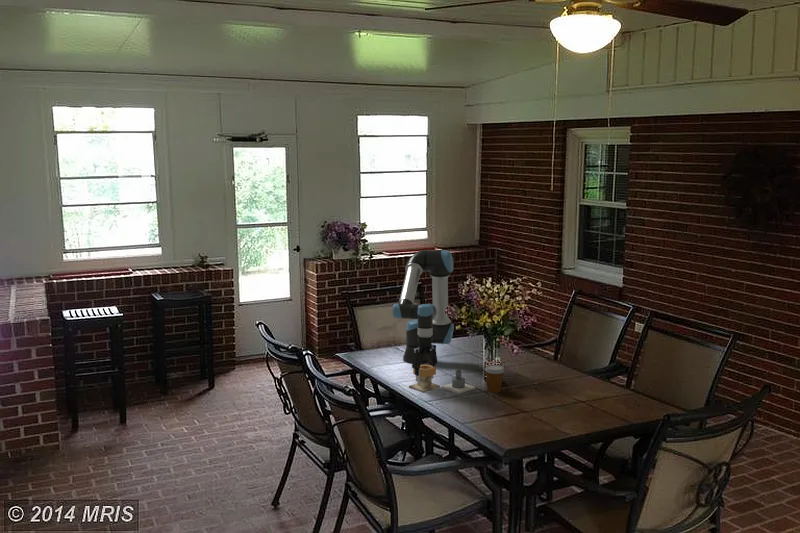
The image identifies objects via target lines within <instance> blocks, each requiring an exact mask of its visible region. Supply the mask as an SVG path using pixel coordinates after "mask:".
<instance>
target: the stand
mask: <svg viewBox="0 0 800 533" xmlns="http://www.w3.org/2000/svg"><path fill="white" fill-rule="evenodd" d="M422 369H427V368H422ZM432 380H433V379H432V376H428V377H421V382H416V383H415V384H411V385H408V388H409V389H411V390H414V391H418V392H420V393H426V392H429V391H433V390H436V389H440V388H441V385H439V384H436V383H433V382H432Z"/></svg>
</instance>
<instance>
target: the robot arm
mask: <svg viewBox="0 0 800 533" xmlns="http://www.w3.org/2000/svg"><path fill="white" fill-rule="evenodd" d="M404 268H405V269H404V270H405V275H404V280H403V284H402V288H401V291H400V292H401V293H400V295H399V300H398V303H393V305H392V316H393V318H395V319H401V320H402V319H405V320H406V319H407V320H408V321H407V323H406V328H405V331H406V333H405V334H406V338H405V339H406V340H405V341H406V342H405V343H406V345H405V350H404V354H403V356H402V360H403V362H404V363H409V364H411V369H413V368H414V369H415V374H414V376H415V382H416V383H418V382H421V369H419V368H420V365H422V364H426V363H428V362H429V364H428V365H429V366H432V367H436V366H437V364H438V354H437V345H435V344H439V345H449V344H451V343H452V339H453V335H454V334H453V333H454V328H455V326H454V323H452V321H451V319H450V318H449V314H448V315H446V314H445V310H446V308H447V307H448V308H449V284H448V283H449V280H448V278H449V277H450V276H451V273H453V271H454V258H453V255H452V252H451V251H449V250H442V249H440V250H439V249H438V250H433V249H421V250H418V251H416V252H414V253H413V255H412V256H410V258H409V259H408V261H406V264H405V267H404ZM423 272H429V276H430V277H431V278H432V279H431V284H432V286H431V288H432V292H431V293H432V303H422V304H414V303H415V298H416V294H417V289H418V285H419V282H420V281H419V280H420V276H421V275H422V274H423ZM417 366H418V367H417ZM433 379H434V375H432V380H433Z"/></svg>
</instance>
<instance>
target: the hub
mask: <svg viewBox="0 0 800 533" xmlns="http://www.w3.org/2000/svg"><path fill="white" fill-rule="evenodd" d="M440 388H441V389H444V390H446V391H449V392H453V393H455V394H458V395H459V394H462V393H466V392H469V391H473V390H475V389H476V386H473V385H470V384H467V383H466V378H465V377H462V370H461V368H456V370H455V377H452V378H451V383H448V384H444V385H440Z"/></svg>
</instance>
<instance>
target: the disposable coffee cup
mask: <svg viewBox="0 0 800 533" xmlns="http://www.w3.org/2000/svg"><path fill="white" fill-rule="evenodd" d="M484 371H485V376H486V377H485V378H486V384H487V392H490V393H494V394H495V393H500V392H501V389H502V384H503V376H504V373H505V369H504V366H503V365H500V364H499V365H498V364H489V365H486V366H485V368H484Z"/></svg>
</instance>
